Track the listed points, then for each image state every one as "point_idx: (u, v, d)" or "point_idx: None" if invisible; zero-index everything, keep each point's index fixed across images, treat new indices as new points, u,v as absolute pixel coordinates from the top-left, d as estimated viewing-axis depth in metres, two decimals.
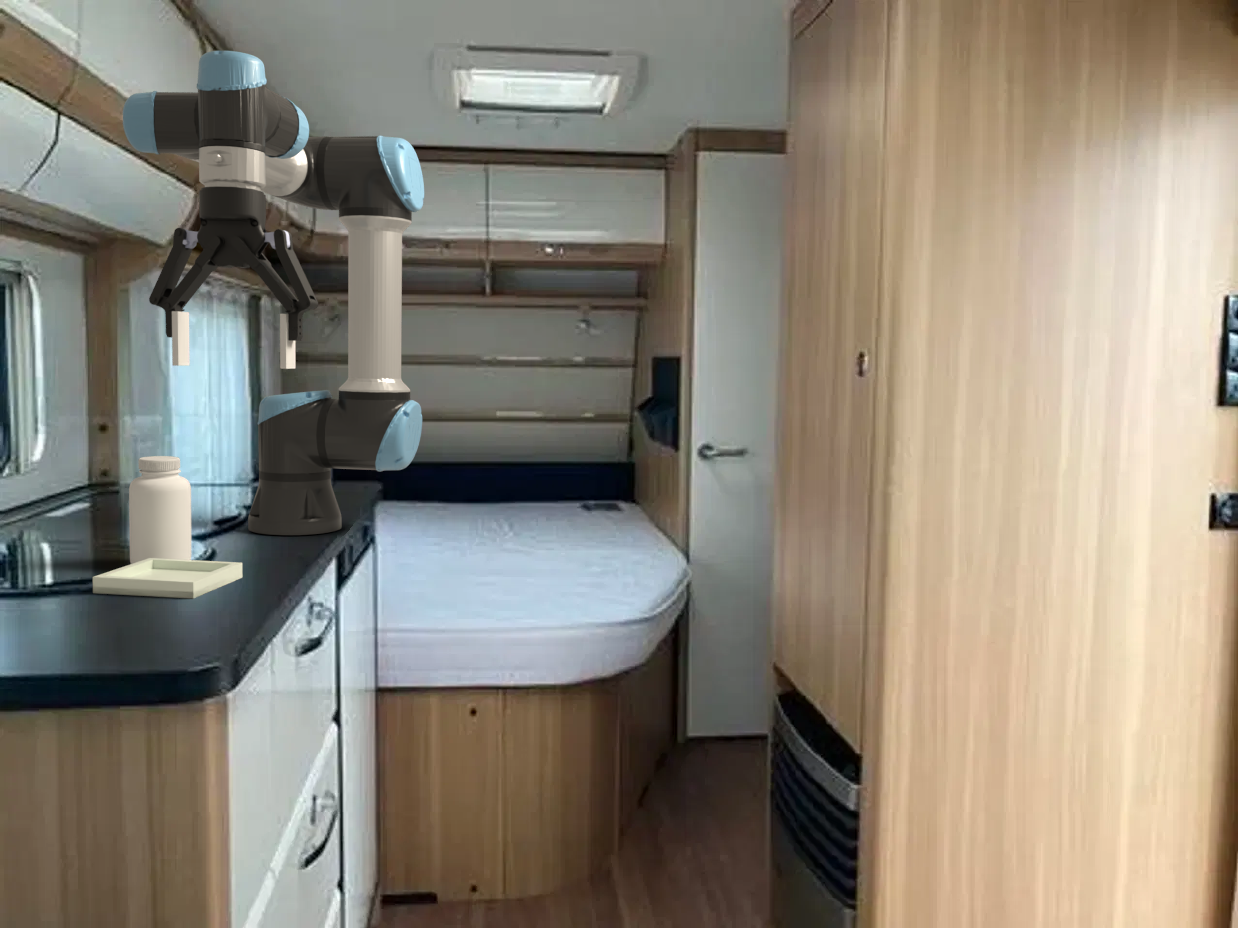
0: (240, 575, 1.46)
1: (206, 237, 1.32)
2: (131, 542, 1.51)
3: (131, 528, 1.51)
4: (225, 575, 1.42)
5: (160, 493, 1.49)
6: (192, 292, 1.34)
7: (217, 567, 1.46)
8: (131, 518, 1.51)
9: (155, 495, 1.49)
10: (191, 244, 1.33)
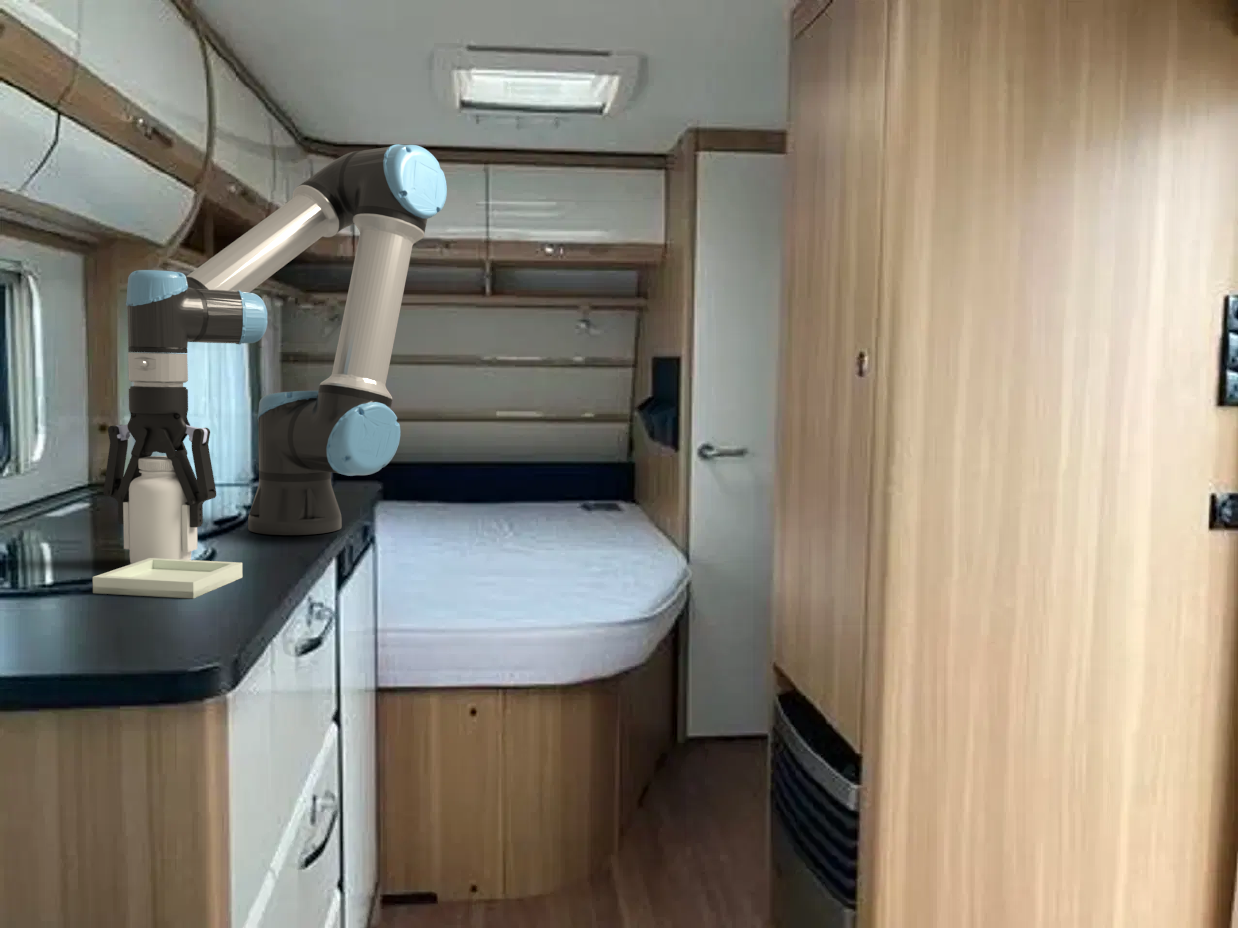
0: (240, 575, 1.46)
1: (135, 427, 1.51)
2: (131, 542, 1.51)
3: (131, 528, 1.51)
4: (225, 575, 1.42)
5: (160, 493, 1.49)
6: None
7: (217, 567, 1.46)
8: (131, 518, 1.51)
9: (155, 495, 1.49)
10: (125, 436, 1.52)
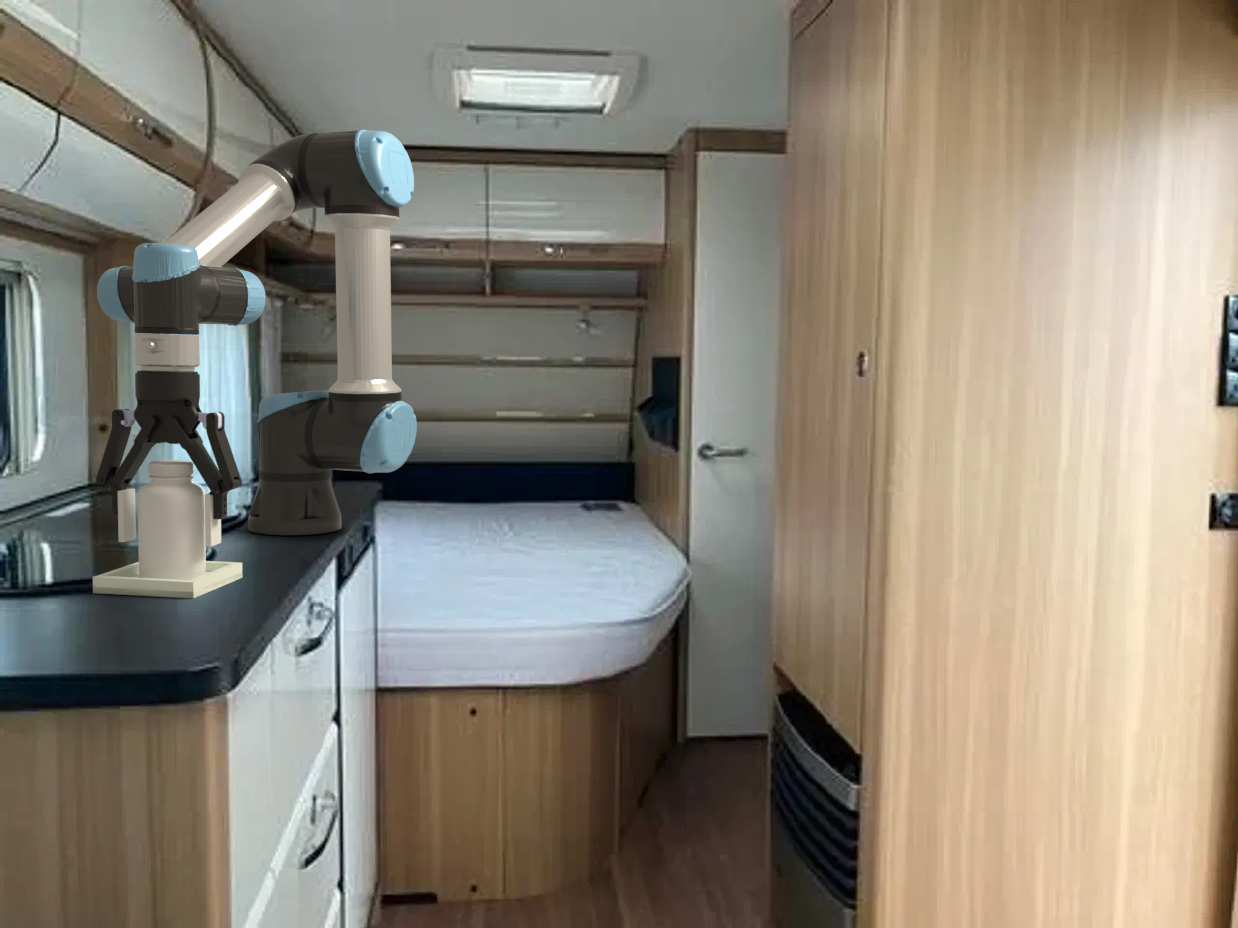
0: (240, 575, 1.46)
1: (142, 415, 1.38)
2: (140, 554, 1.38)
3: (140, 539, 1.38)
4: (225, 575, 1.42)
5: (172, 501, 1.36)
6: (136, 469, 1.41)
7: (217, 567, 1.46)
8: (140, 528, 1.38)
9: (167, 503, 1.36)
10: (129, 423, 1.39)
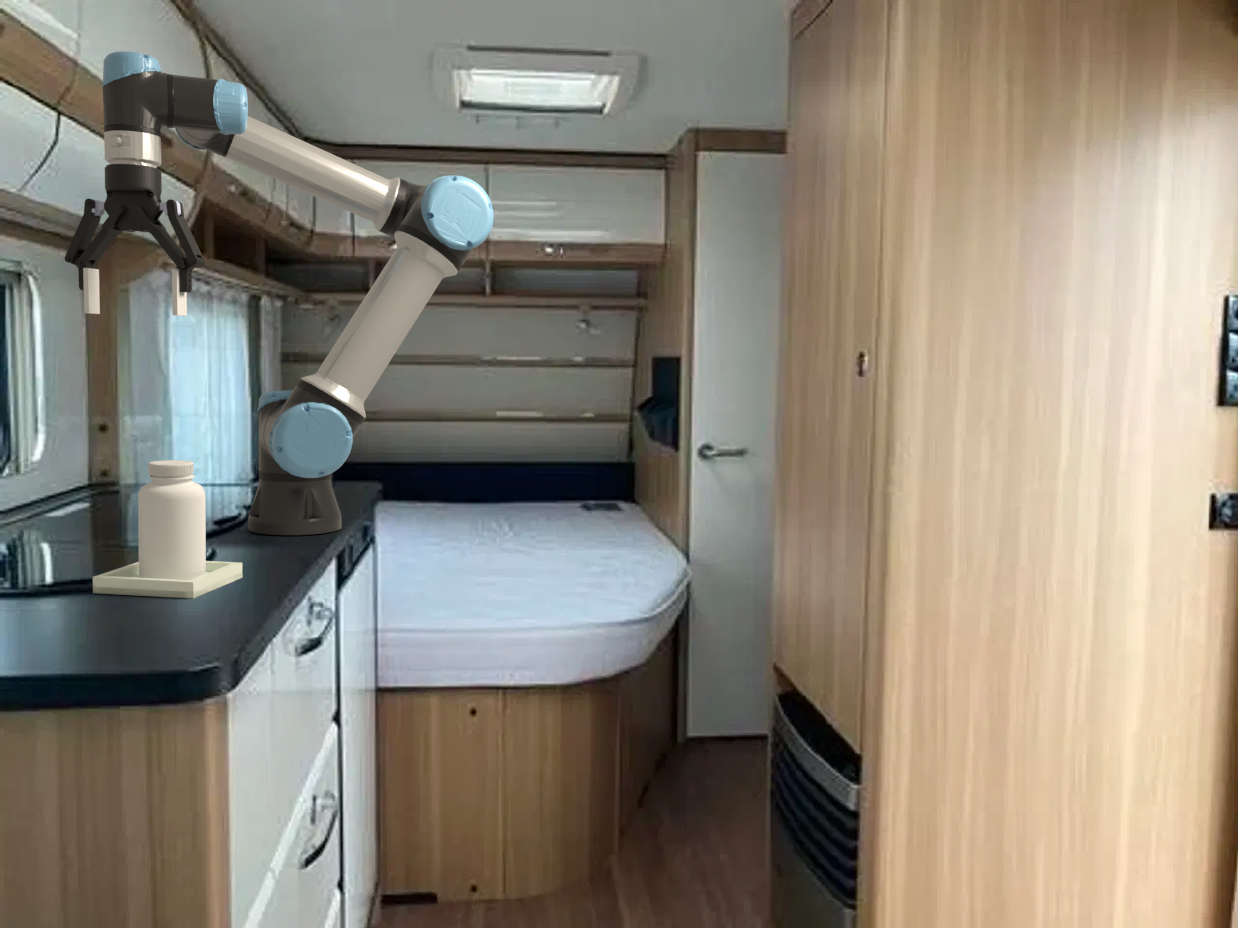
0: (240, 575, 1.46)
1: (111, 206, 1.59)
2: (140, 554, 1.38)
3: (140, 539, 1.38)
4: (225, 575, 1.42)
5: (173, 501, 1.37)
6: (101, 252, 1.62)
7: (217, 567, 1.46)
8: (140, 528, 1.38)
9: (167, 503, 1.36)
10: (99, 212, 1.60)
